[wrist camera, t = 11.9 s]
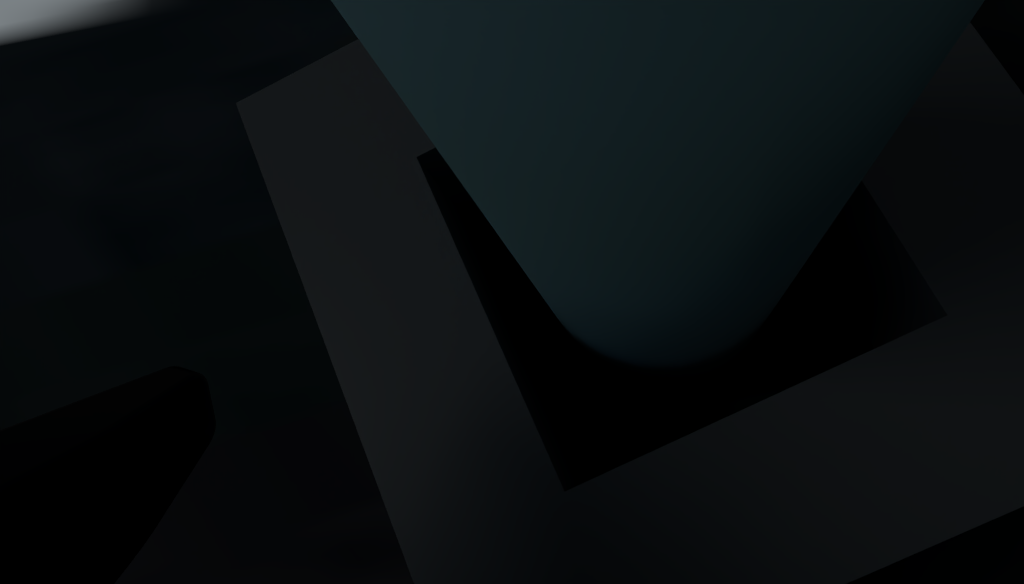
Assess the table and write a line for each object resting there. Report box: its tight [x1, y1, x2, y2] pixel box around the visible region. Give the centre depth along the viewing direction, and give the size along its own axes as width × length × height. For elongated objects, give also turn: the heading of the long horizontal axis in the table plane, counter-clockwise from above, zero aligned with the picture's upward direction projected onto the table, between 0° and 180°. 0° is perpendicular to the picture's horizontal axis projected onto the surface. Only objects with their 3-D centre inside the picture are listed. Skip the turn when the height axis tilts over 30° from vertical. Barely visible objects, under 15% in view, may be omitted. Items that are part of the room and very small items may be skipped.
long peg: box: [331, 0, 985, 389], centre depth 10 cm, size 4×4×14 cm
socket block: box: [236, 23, 1024, 584], centre depth 15 cm, size 12×12×4 cm
